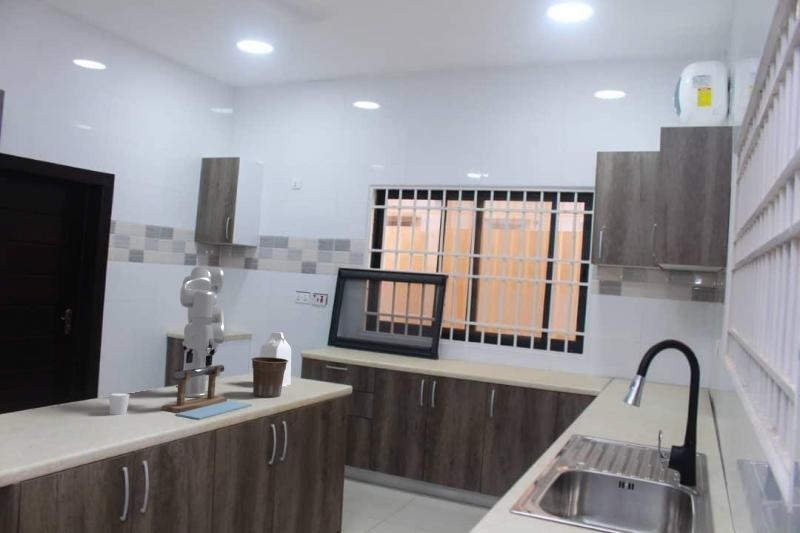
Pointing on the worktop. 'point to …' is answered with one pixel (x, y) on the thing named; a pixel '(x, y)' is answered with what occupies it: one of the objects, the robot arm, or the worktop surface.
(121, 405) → the white cup
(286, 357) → the milk
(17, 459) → the worktop surface
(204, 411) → the mat
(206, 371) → the rod
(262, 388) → the plant pot
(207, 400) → the rack
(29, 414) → the worktop surface
